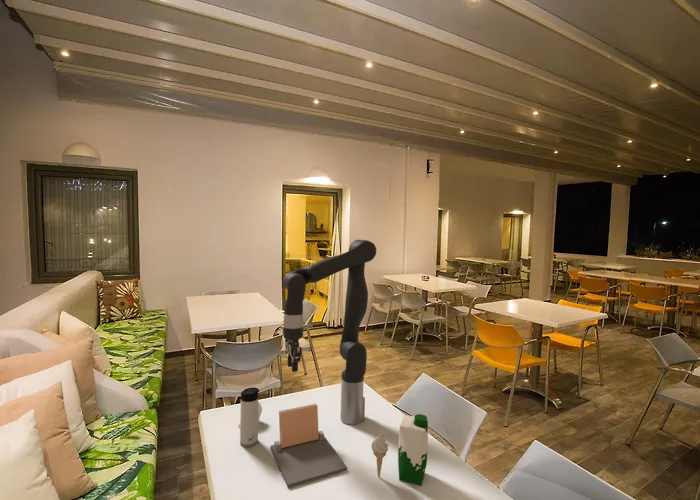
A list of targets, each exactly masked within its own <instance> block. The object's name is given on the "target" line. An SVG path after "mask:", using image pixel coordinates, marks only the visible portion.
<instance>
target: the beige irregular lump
mask: <svg viewBox="0 0 700 500" xmlns="http://www.w3.org/2000/svg"><path fill="white" fill-rule="evenodd" d="M262 410H263V407H262V405H261V402H260V401H258V424H260V418H261V415H262V413H263V412H262ZM237 427H238V429H239V430H240V420H239V421H238V424H237Z"/></svg>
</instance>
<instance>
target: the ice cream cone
mask: <svg viewBox="0 0 700 500" xmlns="http://www.w3.org/2000/svg"><path fill="white" fill-rule="evenodd" d="M378 433H379V434H378V435H377V437H375V439H373V441H372V443H371V445H370V446H371V450H372V452H373V455H374V457H376V471H377V478H380V477H381V472H382V464H383V459H384V457H386V456H387V452H388V450H389V444H388V442H386V439H385V438H384V436H383V435H382V432H381V431H380V432H378Z"/></svg>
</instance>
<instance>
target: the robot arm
mask: <svg viewBox="0 0 700 500" xmlns="http://www.w3.org/2000/svg"><path fill="white" fill-rule="evenodd" d="M376 255H377V247H376V245H375V243H373V242H372V241H369V240H367V239H366V240H365V239H355V240H353V241H352V242H351V243H350V245H349V247H348V250H347V251H346V252H343V253H340V254H338V255H334V256H331V257H327V258H323V259H321V260H318V261H317V262H315V263H312V264H310V265H308V266H306V267H302V268H299V269H296V270H293V271H290V272H288V273H287V274H285V275H284V277H283V280H282V285H283V287H284V288H285V289H286V290H287V295H286V297H287V298H286V299H285V300H284V306H283V307H284V311H283V312H284V313H283V325H282V326H283V328H282V329H283V331H282V332H283V334H282V336H283V338H284V346H285V354H286V357H287V367H288V368H291V372H293V373H296V372H298V371H299V362H301V358H302V352H303V351H302V350H303V347H302V346H300V345H301V344H300V341H299V340H300V339H302V338H303V337H304V314H303V313H304V299H305V294H306V285H308V284H312V283H313V284H314V283H318V282H319V281H322V280H324V279H326V278H328V277H330V276H332V275H334V274H336V273H339V272H341V271H344V270H346V269H348V270H347V271H348V272H347V285H346V294H345V303H344V305H345V306H344V318H343V327H342V333H341V338H340V344H339V354H340V356H341V358H342V359H343V360H345V369H344V370H342V371H341V389H340V390H341V391H340V421H341V422H342V423H344V424H345V425H358V424H360V423H362V422H363V421H365V414H366V413H365V412H366V411H365V410H366V409H365V408H366V407H365V406H366V398H365V396H364V378H365V374H366V371H367V370H366V369H367V357H368V356H367V355H368V354H367V353H368V351H367V349H366V347H365V345H364V344H362V343H361V342H360V341H359V332H360V327H361V324H362V321H363V319H364V318H365V315H366V313H367V309H368V303H369V302H368V300H369V291H368V286H367V281H366V278H365V276H366V275H365V266H366V263H369V262H371V261H372V260H374V259H375V257H376Z"/></svg>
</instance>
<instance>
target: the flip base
mask: <svg viewBox="0 0 700 500" xmlns="http://www.w3.org/2000/svg"><path fill="white" fill-rule="evenodd" d="M318 432H319V439H317V440H313V441H309V442H305V443H300V444H296V445H292V446H288V447H284V448H281V444H280V440H275V441H274V442H273V443H274V444H272V445H271V444H270V445H269V446H270V447H269V449H270V451H271V454H272V456H273V458H274V461H275V462H276V464H277V467H278V469H279V472H280V474H281V476H282V478H283V480H284V482H285V485H286V488H287V489H290V488H293V487H296V486H297V487H298V486H301V485H304V484H307V483H311V482H314V481H317V480H320V479H323V478H327V477H328V478H329V477H330V476H331V477H332V476H334V475H338V474H341V473H345V472H348V466H347V464H346V463H345V462H344V460H343V459H342V458H341V457H340V455H339V454H338V453H337V451H336V449H334V448H333V446H332V444H331V442H329V441H328V439H327V438H326V437H325V433H324V431H323V430H318Z"/></svg>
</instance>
